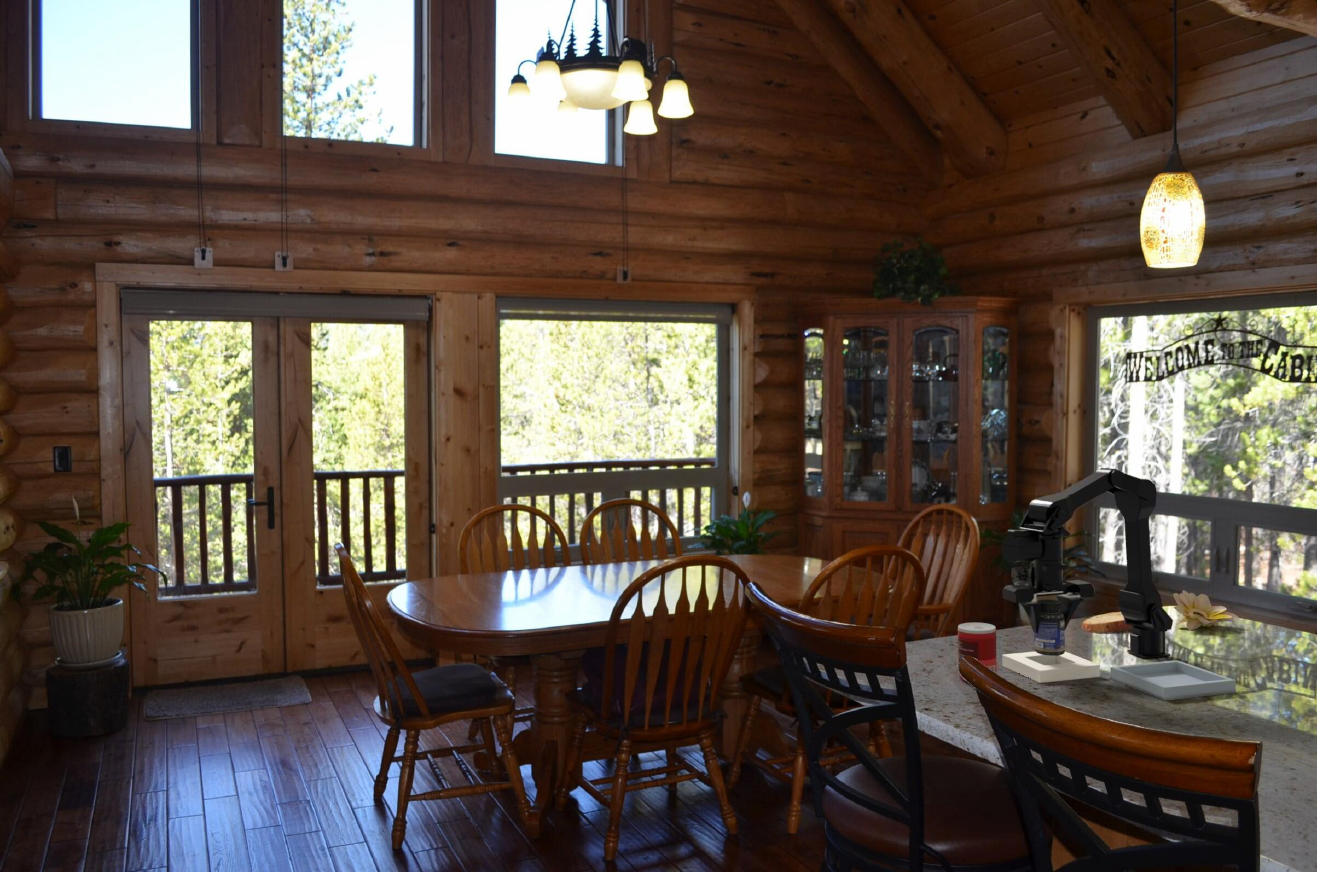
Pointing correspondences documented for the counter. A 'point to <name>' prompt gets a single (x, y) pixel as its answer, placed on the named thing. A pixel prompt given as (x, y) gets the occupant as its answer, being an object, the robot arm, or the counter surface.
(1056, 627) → the pill bottle
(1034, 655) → the white square frame
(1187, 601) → the decorative flower
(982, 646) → the canned food
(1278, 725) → the counter surface
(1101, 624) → the slice of bread
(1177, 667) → the tray
